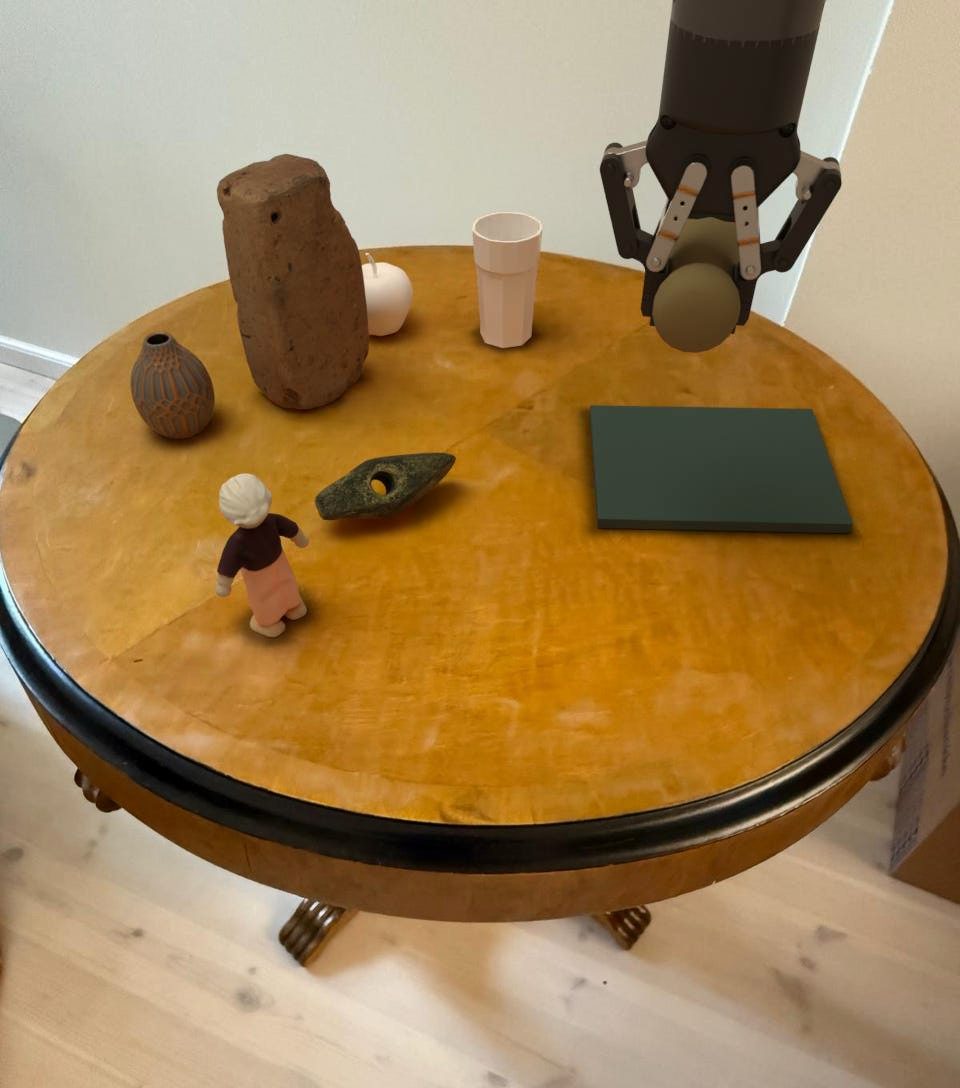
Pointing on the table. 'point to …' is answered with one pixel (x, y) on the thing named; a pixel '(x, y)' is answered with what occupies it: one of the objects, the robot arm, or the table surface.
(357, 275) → the block
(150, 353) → the vase
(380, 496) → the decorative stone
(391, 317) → the plain white apple
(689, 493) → the mat
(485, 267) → the cup
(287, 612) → the grandmother figurine
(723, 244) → the cork
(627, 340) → the table surface
